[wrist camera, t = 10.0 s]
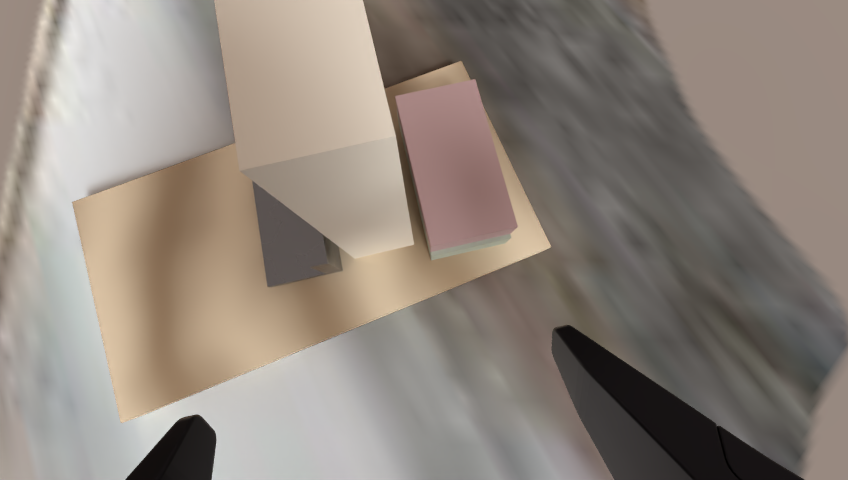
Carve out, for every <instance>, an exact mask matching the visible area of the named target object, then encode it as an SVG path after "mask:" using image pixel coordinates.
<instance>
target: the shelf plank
mask: <svg viewBox="0 0 848 480" xmlns="http://www.w3.org/2000/svg"><path fill="white" fill-rule="evenodd" d="M469 80H470V78H469V76H468V74H467V71H466V69H465V67H464V65H463V63H462V61H460V62H457V63H454V64H451V65H449V66H446V67H443V68H440V69H438V70H435V71H432V72H429V73H427V74H424V75H421V76H418V77H415V78H413V79H410V80H407V81H404V82H402V83H399V84H396V85H393V86H391V87H388V88H385V89H384V90H385V94H386V98H387V102H388V106H389V110H390V114H391V119H392V123H393V127H394V131H395V135H396V141H397V146H398V152H399V158H400V164H401V170H402V176H403V182H404V188H405V194H406V199H407V205H408V211H409V217H410V223H411V229H412V235H413V241H414V245H411V246H406V247H402V248H398V249H394V250H390V251H385V252H381V253H377V254H373V255H368V256H364V257H360V258H356V259H355V258H353V257H352V256H351V255H349V254H348V253H347V252H345V251H344V250H343V249H341V248H340V247H339V246H338V247H339V252H340V257H341V263H342V268H343V271H341V272H336V273H332V274H328V275H323V276H319V277H315V278H310V279H306V280H301V281H297V282H293V283H288V284H284V285H280V286H275V287H267V280H266V273H265V266H264V260H263V253H262V246H261V239H260V232H259V225H258V218H257V211H256V204H255V197H254V190H253V184H252V180H251V179H250V178H248V177H247V176H246V175H244V174H243V173H242V172H240V171H239V165H238V158H237V151H236V144H235V143H234V144H231V145H228V146H225V147H223V148H220V149H217V150H214V151H212V152H209V153H206V154H203V155H201V156H198V157H195V158H192V159H190V160H187V161H184V162H181V163H179V164H176V165H173V166H170V167H168V168H165V169H162V170H159V171H157V172H154V173H151V174H148V175H146V176H143V177H140V178H137V179H135V180H132V181H129V182H126V183H124V184H121V185H118V186H115V187H113V188H110V189H107V190H104V191H102V192H99V193H96V194H93V195H91V196H88V197H85V198H82V199H79V200H77V201H74V202H72V203H73V208H74V212H75V217H76V221H77V226H78V230H79V235H80V239H81V244H82V249H83V253H84V258H85V262H86V267H87V271H88V276H89V280H90V285H91V289H92V294H93V298H94V303H95V308H96V312H97V317H98V321H99V326H100V330H101V335H102V339H103V344H104V348H105V353H106V358H107V362H108V367H109V371H110V376H111V380H112V385H113V389H114V394H115V398H116V403H117V407H118V412H119V417H120V421H121V423H123V422H126V421H129V420H131V419H134V418H137V417H140V416H142V415H144V414H147V413H149V412H152V411H154V410H157V409H159V408H162V407H164V406H166V405H169V404H171V403H174V402H176V401H179V400H181V399H184V398H186V397H188V396H191V395H193V394H196V393H198V392H201V391H203V390H205V389H208V388H210V387H213V386H215V385H218V384H220V383H223V382H225V381H227V380H230V379H232V378H235V377H237V376H240V375H242V374H245V373H247V372H249V371H252V370H254V369H257V368H259V367H262V366H264V365H266V364H269V363H271V362H274V361H276V360H279V359H281V358H284V357H286V356H288V355H291V354H293V353H296V352H298V351H301V350H303V349H305V348H308V347H310V346H313V345H315V344H318V343H320V342H323V341H325V340H327V339H330V338H332V337H335V336H337V335H340V334H342V333H345V332H347V331H349V330H352V329H354V328H357V327H359V326H362V325H364V324H366V323H369V322H371V321H374V320H376V319H379V318H381V317H384V316H386V315H388V314H391V313H393V312H396V311H398V310H401V309H403V308H405V307H408V306H410V305H413V304H415V303H418V302H420V301H423V300H425V299H427V298H430V297H432V296H435V295H437V294H440V293H442V292H445V291H447V290H449V289H452V288H454V287H457V286H459V285H462V284H464V283H466V282H469V281H471V280H474V279H476V278H479V277H481V276H484V275H486V274H488V273H491V272H493V271H496V270H498V269H501V268H503V267H506V266H508V265H510V264H513V263H515V262H518V261H520V260H523V259H525V258H527V257H530V256H532V255H535V254H537V253H540V252H542V251H544V250H546V249H548V248H550V247H551V246H550V244H549V242H548V239H547V237H546V235H545V233H544V231H543V229H542V227H541V225H540V223H539V221H538V219H537V217H536V215H535V212H534V210H533V208H532V206H531V204H530V202H529V200H528V198H527V196H526V194H525V192H524V190H523V188H522V186H521V183H520V181H519V179H518V177H517V175H516V173H515V171H514V169H513V167H512V165H511V163H510V161H509V159H508V156H507V154H506V152H505V150H504V148H503V146H502V144H501V142H500V140H499V138H498V136H497V134H496V132H495V130H494V127H493V125H492V123H491V121H490V119H489V117H488V115H487V113H486V111H485V109H484V111H485V115H486V118H487V122H488V125H489V129H490V132H491V135H492V139H493V142H494V146H495V149H496V153H497V156H498V160H499V163H500V166H501V170H502V173H503V177H504V180H505V184H506V187H507V191H508V194H509V197H510V201H511V204H512V208H513V211H514V215H515V218H516V221H517V225H518V227H517V228H516V229H515V230H514V231H513V232H512V233H511V239H509V240H508V241H507V242H506V243H505V244H500V245H496V246H492V247H487V248H483V249H479V250H474V251H470V252H466V253H461V254H457V255H453V256H448V257H444V258H440V259H435V260H431V258H430V254H429V249H428V245H427V241H426V237H425V233H424V228H423V224H422V220H421V216H420V211H419V207H418V203H417V199H416V195H415V190H414V186H413V182H412V178H411V174H410V169H409V165H408V161H407V157H406V152H405V148H404V144H403V140H402V136H401V131H400V127H399V122H398V115H397V106H396V99H395V96H398V95H402V94H407V93H412V92H417V91H421V90H426V89H431V88H436V87H440V86H445V85H450V84H455V83H459V82H464V81H469ZM483 108H484V107H483Z"/></svg>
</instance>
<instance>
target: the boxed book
mask: <svg viewBox="0 0 848 480" xmlns="http://www.w3.org/2000/svg"><path fill="white" fill-rule="evenodd" d="M214 2H215V9H216V16H217V22H218V29H219V36H220V43H221V49H222V56H223V63H224V70H225V77H226V83H227V90H228V97H229V104H230V111H231V117H232V124H233V131H234V138H235V144H236V151H237V158H238V165H239V171H240V172H242V173H243V174H244V175H246V176H247V177H248V178H250V179H251V180H252V181H253V182H255V183H256V184H257V185H259V186H260V187H261V188H263V189H264V190H265V191H267V192H268V193H269V194H271V195H272V196H273V197H274V198H276V199H277V200H278V201H280V202H281V203H282V204H284V205H285V206H286V207H288V208H289V209H290V210H292V211H293V212H294V213H295V214H297V215H298V216H299V217H301V218H302V219H303V220H305V221H306V222H307V223H309V224H310V225H311V226H313V227H314V228H315V229H316V230H318V231H319V232H320V233H322V234H323V235H324V236H326V237H327V238H328V239H330V240H331V241H332V242H334V243H335V244H336V245H337V246H339V247H340V248H341V249H343V250H344V251H345V252H347V253H348V254H349V255H351V256H352V257H353V258H355V259H356V258H360V257H364V256H368V255H373V254H377V253H381V252H385V251H390V250H394V249H398V248H402V247H406V246H411V245H414V241H413V235H412V229H411V223H410V217H409V211H408V205H407V199H406V194H405V188H404V182H403V176H402V170H401V164H400V158H399V152H398V146H397V141H396V135H395V131H394V127H393V123H392V119H391V114H390V110H389V106H388V102H387V98H386V94H385V90H384V86H383V82H382V77H381V73H380V69H379V65H378V61H377V57H376V53H375V49H374V45H373V40H372V36H371V32H370V28H369V24H368V20H367V16H366V12H365V8H364V3H363V0H214Z"/></svg>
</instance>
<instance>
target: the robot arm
mask: <svg viewBox="0 0 848 480" xmlns="http://www.w3.org/2000/svg"><path fill="white" fill-rule="evenodd" d="M552 354H553V357H554V360H555V362H556V364H557V367H558V369H559V371H560V374H561V376H562V378H563V381H564V383H565V385H566V388H567V390H568V392H569V394H570V397H571V399H572V401H573V404H574V406H575V408H576V410H577V413H578V415H579V417H580V419H581V421H582V422H583V424H584V426H585V428H586V430H587V432H588V433H589V435H590V437H591V439H592V440H593V442H594V444H595V446H596V448H597V449H598V451H599V453H600V455H601V456H602V458H603V460H604V462H605V464H606V465H607V467H608V469H609V471H610V473H611V474H612V476H613V478H614V480H804V479H803V478H801V477H799V476H798V475H796V474H794V473H793V472H791V471H789V470H788V469H786V468H784V467H783V466H781V465H779V464H778V463H776V462H774V461H773V460H771V459H769V458H768V457H766V456H765V455H763V454H762V453H760V452H759V451H757V450H756V449H754V448H752V447H751V446H749V445H748V444H746V443H745V442H743V441H742V440H740V439H739V438H737V437H736V436H734V435H733V434H731V433H730V432H728V431H727V430H725V429H724V428H722V427H721V426H717V425H716V423H715V422H713V421H712V420H710V419H709V418H707V417H706V416H704V415H703V414H701V413H700V412H698V411H697V410H695V409H694V408H692V407H691V406H689V405H688V404H686V403H685V402H683V401H682V400H680V399H679V398H678V397H676V396H675V395H673V394H672V393H670V392H669V391H667V390H666V389H664V388H663V387H661V386H660V385H658V384H657V383H655V382H654V381H652V380H651V379H649V378H648V377H646V376H645V375H643V374H642V373H640V372H639V371H637V370H636V369H634V368H633V367H631V366H630V365H629V364H627V363H626V362H624V361H623V360H621V359H620V358H618V357H617V356H615V355H614V354H612V353H611V352H609V351H608V350H606V349H605V348H603V347H602V346H600V345H599V344H597V343H596V342H594V341H593V340H591V339H590V338H588V337H587V336H585V335H584V334H582V333H581V332H580V331H578V330H577V329H575V328H574V327H572V326H570V325H564V326H560V327H556V328H554V329H553V332H552ZM215 448H216V434H215V431H214V430H213V429H212V428H211V426H210V425H209V424H208V423H207V422H206V421H205V420H204V419H203V418H202V417H201V416H200V415H192V416H187V417H183V418H181V419H179V420H178V421H177V422H176V423H175V424H174V425H173V426H172V427H171V429H170V430H169V431H168V432H167V433H166V434H165V435H164V436H163V438H162V439H161V440H160V441H159V442H158V443H157V444H156V446H155V447H154V448H153V449H152V450H151V451H150V452H149V453H148V455H147V456H146V457H145V458H144V459H143V460H142V461H141V463H140V464H139V465H138V466H137V467H136V468H135V469H134V470H133V472H132V473H131V474H130V475H129V476H128V477H127V478H126V479H125V480H211V479H212V472H213V464H214V456H215Z"/></svg>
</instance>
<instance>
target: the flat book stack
mask: <svg viewBox="0 0 848 480" xmlns="http://www.w3.org/2000/svg"><path fill="white" fill-rule="evenodd" d="M395 99H396V106H397V115H398V122H399V127H400V131H401V136H402V140H403V144H404V148H405V152H406V157H407V161H408V165H409V169H410V174H411V178H412V182H413V186H414V190H415V195H416V199H417V203H418V207H419V211H420V216H421V220H422V224H423V228H424V233H425V237H426V241H427V245H428V249H429V254H430V258H431V260H435V259H440V258H444V257H448V256H453V255H457V254H461V253H466V252H470V251H474V250H479V249H483V248H487V247H492V246H496V245H500V244H505V243H506V242H507V241H508V240H509V239H511V233H512V232H513V231H514V230H515V229H516V228H517V227H518V225H517V221H516V218H515V215H514V211H513V208H512V204H511V201H510V197H509V194H508V191H507V187H506V184H505V180H504V177H503V173H502V170H501V166H500V163H499V160H498V156H497V153H496V149H495V146H494V142H493V139H492V135H491V132H490V129H489V125H488V122H487V118H486V115H485V111H484V108H483V105H482V101H481V98H480V94H479V91H478V87H477V84H476V80H475V79H474V80H469V81H464V82H459V83H455V84H450V85H445V86H440V87H436V88H431V89H426V90H421V91H417V92H412V93H407V94H402V95H398V96H395Z"/></svg>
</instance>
